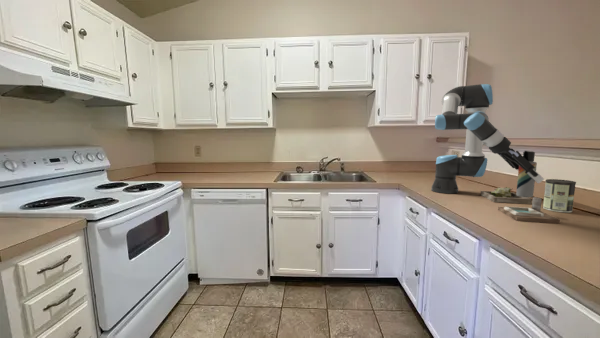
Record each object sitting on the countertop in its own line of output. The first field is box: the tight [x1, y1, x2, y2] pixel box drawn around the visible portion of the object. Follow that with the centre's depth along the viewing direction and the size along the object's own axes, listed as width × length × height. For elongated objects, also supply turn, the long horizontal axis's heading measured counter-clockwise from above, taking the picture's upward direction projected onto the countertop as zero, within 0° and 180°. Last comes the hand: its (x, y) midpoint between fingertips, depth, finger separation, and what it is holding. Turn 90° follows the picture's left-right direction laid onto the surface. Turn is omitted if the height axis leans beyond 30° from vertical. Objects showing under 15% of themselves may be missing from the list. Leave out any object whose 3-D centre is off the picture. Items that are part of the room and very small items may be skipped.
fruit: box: [491, 186, 513, 198], centre depth 147 cm, size 9×9×8 cm
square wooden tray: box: [480, 190, 533, 205], centre depth 145 cm, size 17×17×2 cm
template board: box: [497, 196, 561, 224], centre depth 115 cm, size 16×15×8 cm
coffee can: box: [542, 178, 577, 214], centre depth 124 cm, size 10×10×14 cm
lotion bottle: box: [515, 150, 537, 198], centre depth 113 cm, size 6×6×20 cm
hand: (536, 179), depth 112 cm, fingers closed on lotion bottle, 5 cm apart
